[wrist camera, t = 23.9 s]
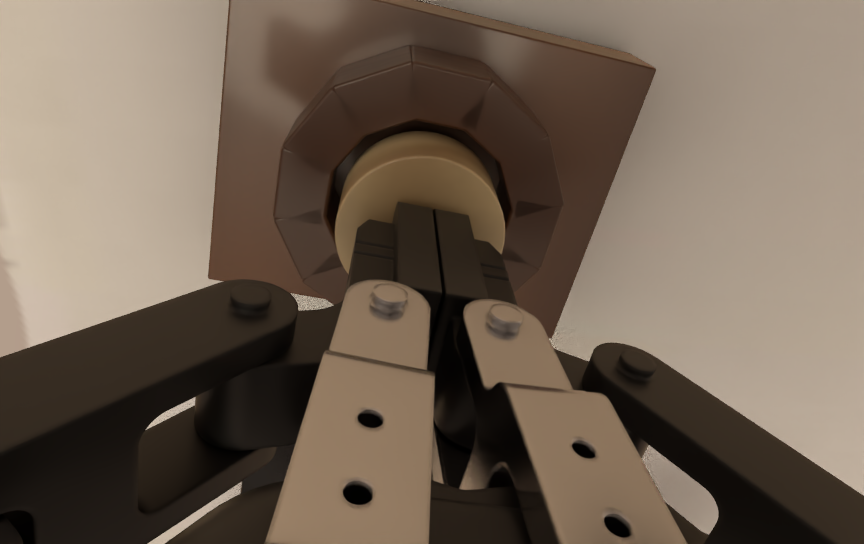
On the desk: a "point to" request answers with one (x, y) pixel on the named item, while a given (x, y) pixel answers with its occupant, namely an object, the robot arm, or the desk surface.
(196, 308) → the robot arm
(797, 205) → the desk surface
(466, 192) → the button
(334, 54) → the button block
